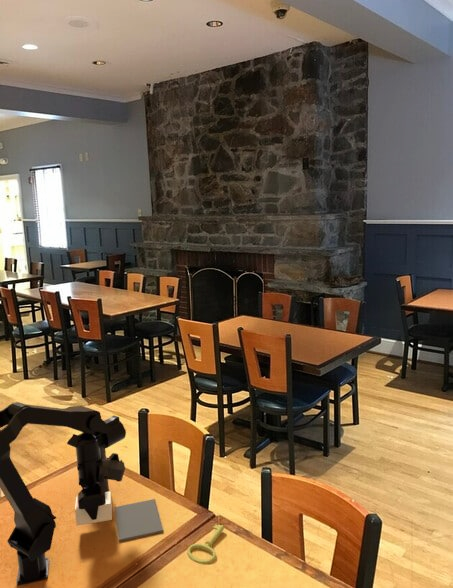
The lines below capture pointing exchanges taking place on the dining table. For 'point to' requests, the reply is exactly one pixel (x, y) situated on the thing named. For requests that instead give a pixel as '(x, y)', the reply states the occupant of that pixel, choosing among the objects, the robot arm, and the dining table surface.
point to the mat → (138, 520)
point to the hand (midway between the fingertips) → (93, 512)
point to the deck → (102, 514)
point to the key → (206, 547)
